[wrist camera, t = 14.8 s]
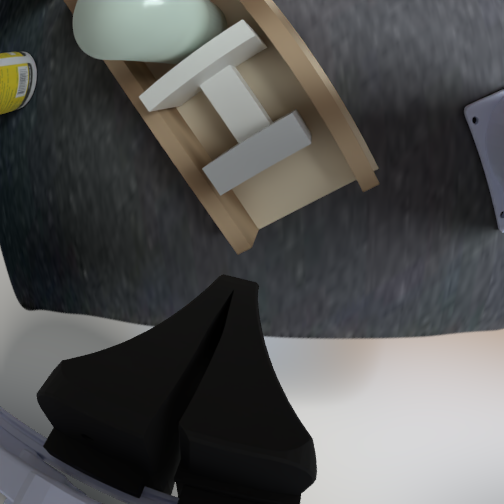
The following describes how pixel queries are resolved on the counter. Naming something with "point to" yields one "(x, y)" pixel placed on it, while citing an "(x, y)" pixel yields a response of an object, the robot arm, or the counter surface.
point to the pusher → (231, 106)
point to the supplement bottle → (16, 80)
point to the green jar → (146, 28)
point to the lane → (276, 105)
